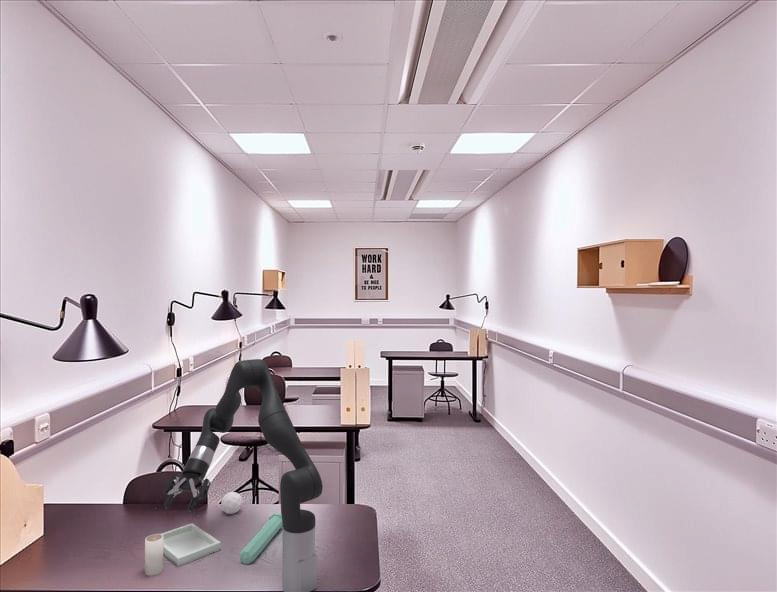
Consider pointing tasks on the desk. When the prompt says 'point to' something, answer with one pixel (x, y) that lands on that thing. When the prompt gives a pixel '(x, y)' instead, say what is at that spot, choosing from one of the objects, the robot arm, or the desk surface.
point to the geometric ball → (231, 503)
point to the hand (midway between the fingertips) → (177, 509)
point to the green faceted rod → (261, 539)
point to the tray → (188, 544)
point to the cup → (153, 554)
